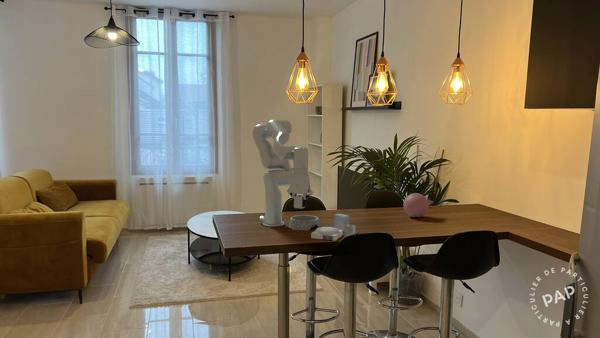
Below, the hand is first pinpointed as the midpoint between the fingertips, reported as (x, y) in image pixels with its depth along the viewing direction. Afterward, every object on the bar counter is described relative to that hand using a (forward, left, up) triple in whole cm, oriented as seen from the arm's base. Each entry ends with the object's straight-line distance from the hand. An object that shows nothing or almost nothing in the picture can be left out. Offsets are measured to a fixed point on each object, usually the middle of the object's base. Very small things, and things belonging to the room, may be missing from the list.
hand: (299, 205), depth 219 cm
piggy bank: (+51, +75, -16) cm, 92 cm away
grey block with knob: (0, 0, -1) cm, 1 cm away
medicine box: (+16, +21, -16) cm, 31 cm away
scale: (+13, +6, -16) cm, 22 cm away
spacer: (+24, +10, -16) cm, 31 cm away
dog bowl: (-6, +21, -17) cm, 27 cm away
